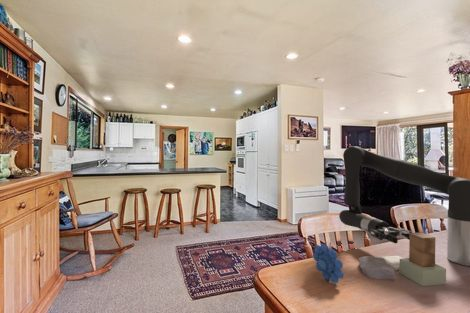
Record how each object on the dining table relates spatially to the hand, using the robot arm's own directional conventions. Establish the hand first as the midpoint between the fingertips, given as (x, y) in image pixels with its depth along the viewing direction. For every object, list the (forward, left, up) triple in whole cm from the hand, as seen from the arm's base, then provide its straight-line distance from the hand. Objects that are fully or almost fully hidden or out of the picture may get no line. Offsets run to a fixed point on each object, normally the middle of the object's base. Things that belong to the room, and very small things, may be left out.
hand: (406, 240), depth 88 cm
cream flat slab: (0, -4, -11) cm, 12 cm away
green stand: (0, +6, -11) cm, 13 cm away
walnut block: (0, +6, -6) cm, 8 cm away
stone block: (+13, -1, -12) cm, 17 cm away
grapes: (+34, +2, -11) cm, 36 cm away
